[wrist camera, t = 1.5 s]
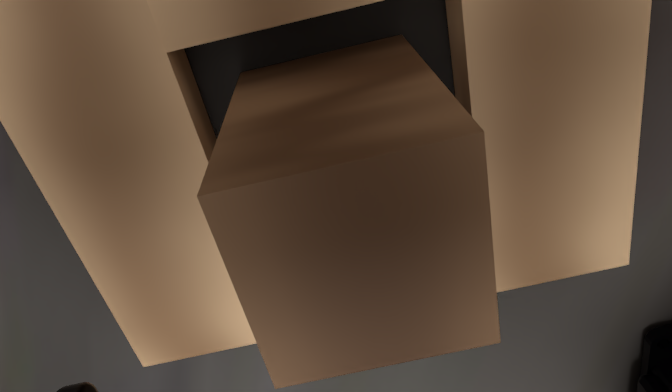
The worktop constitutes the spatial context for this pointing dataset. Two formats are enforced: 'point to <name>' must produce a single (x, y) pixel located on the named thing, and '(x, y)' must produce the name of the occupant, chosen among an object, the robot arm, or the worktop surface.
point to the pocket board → (199, 140)
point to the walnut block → (353, 213)
